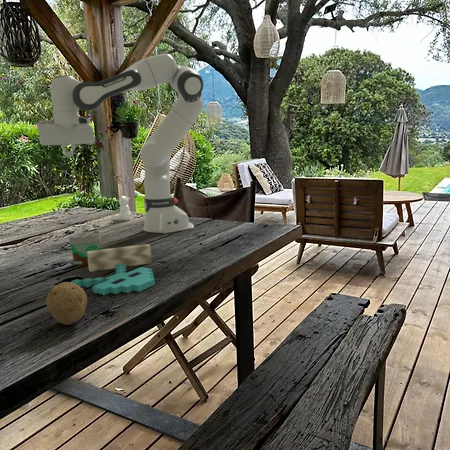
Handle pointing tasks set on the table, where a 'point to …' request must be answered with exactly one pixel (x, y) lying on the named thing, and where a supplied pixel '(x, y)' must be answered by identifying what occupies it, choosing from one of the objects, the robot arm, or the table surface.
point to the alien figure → (120, 281)
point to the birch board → (119, 257)
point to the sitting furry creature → (123, 210)
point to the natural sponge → (66, 302)
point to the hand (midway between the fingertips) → (69, 156)
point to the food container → (84, 247)
